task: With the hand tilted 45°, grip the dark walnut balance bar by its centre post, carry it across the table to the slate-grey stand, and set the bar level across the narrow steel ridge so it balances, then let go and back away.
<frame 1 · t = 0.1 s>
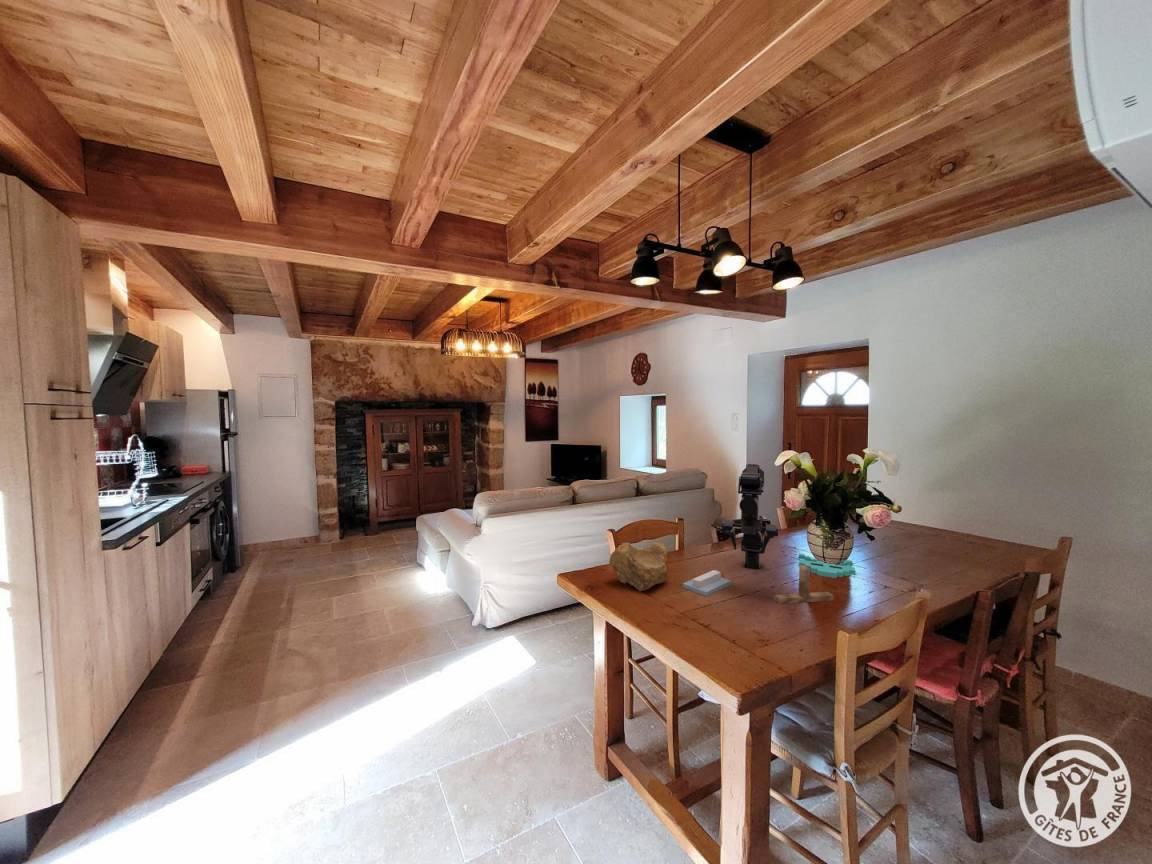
hand: (748, 551, 154), 15 cm above the table, tool pointing down, fingers open, 9 cm apart
walnut balance bar: (803, 600, 147), on the table
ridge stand: (706, 586, 159), on the table
rough brown rock: (642, 585, 160), on the table
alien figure: (825, 569, 177), on the table
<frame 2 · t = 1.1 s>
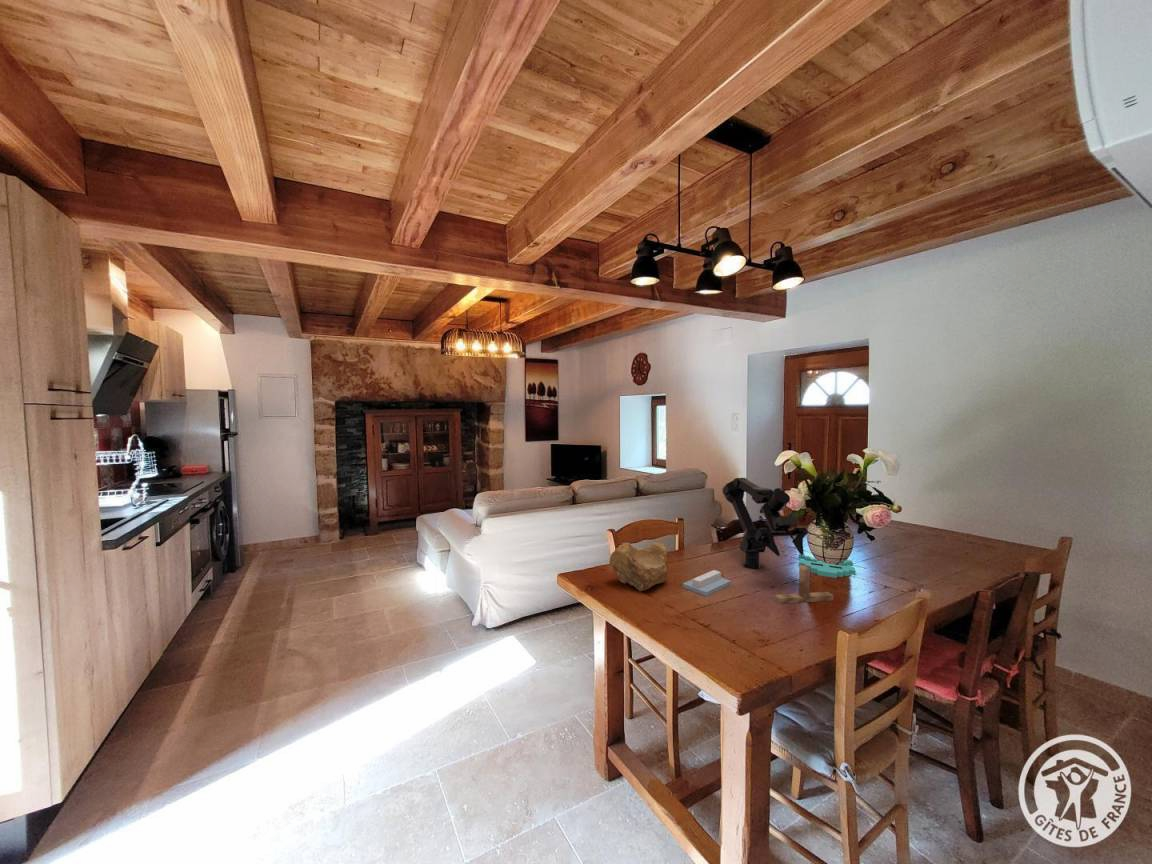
hand: (790, 555, 154), 13 cm above the table, tool tilted 45°, fingers open, 9 cm apart
nothing on the table moved.
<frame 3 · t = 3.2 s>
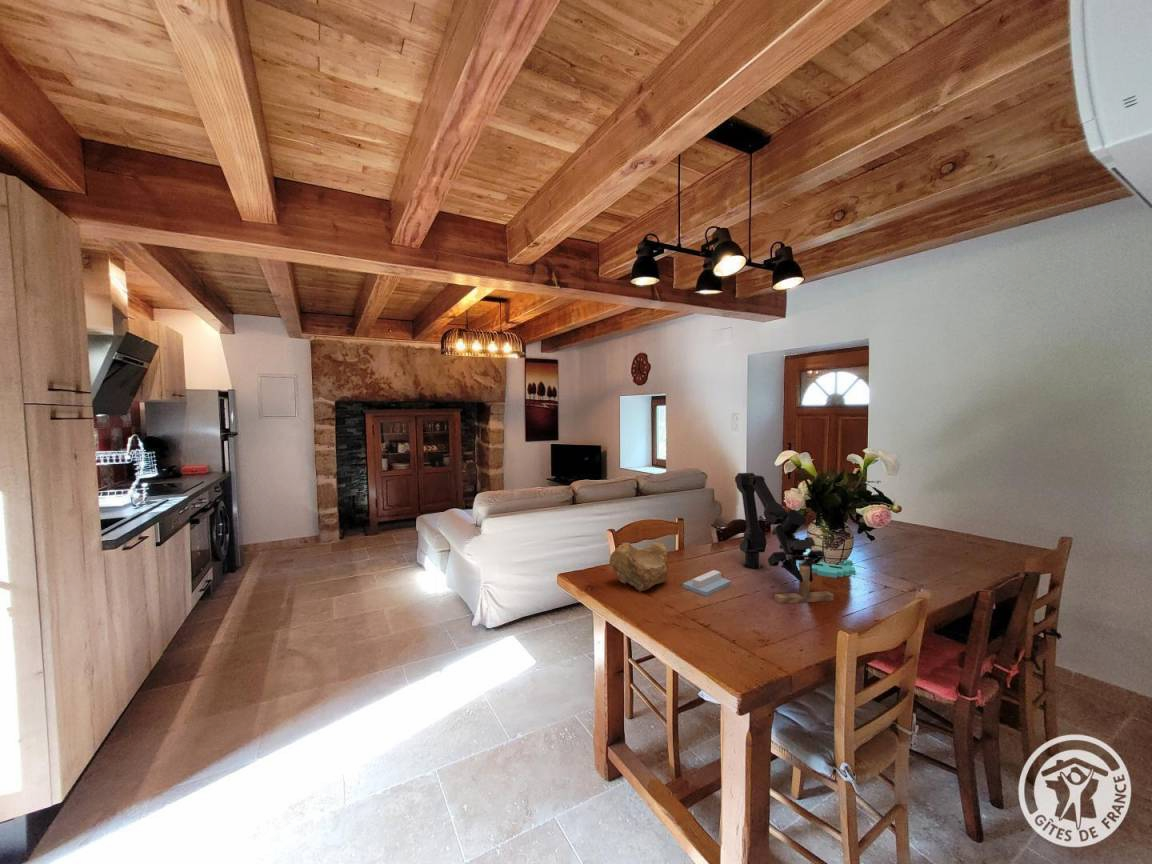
hand: (806, 581, 146), 7 cm above the table, tool tilted 45°, fingers closed on walnut balance bar, 3 cm apart
walnut balance bar: (803, 600, 147), on the table, touching gripper
everything else where it was.
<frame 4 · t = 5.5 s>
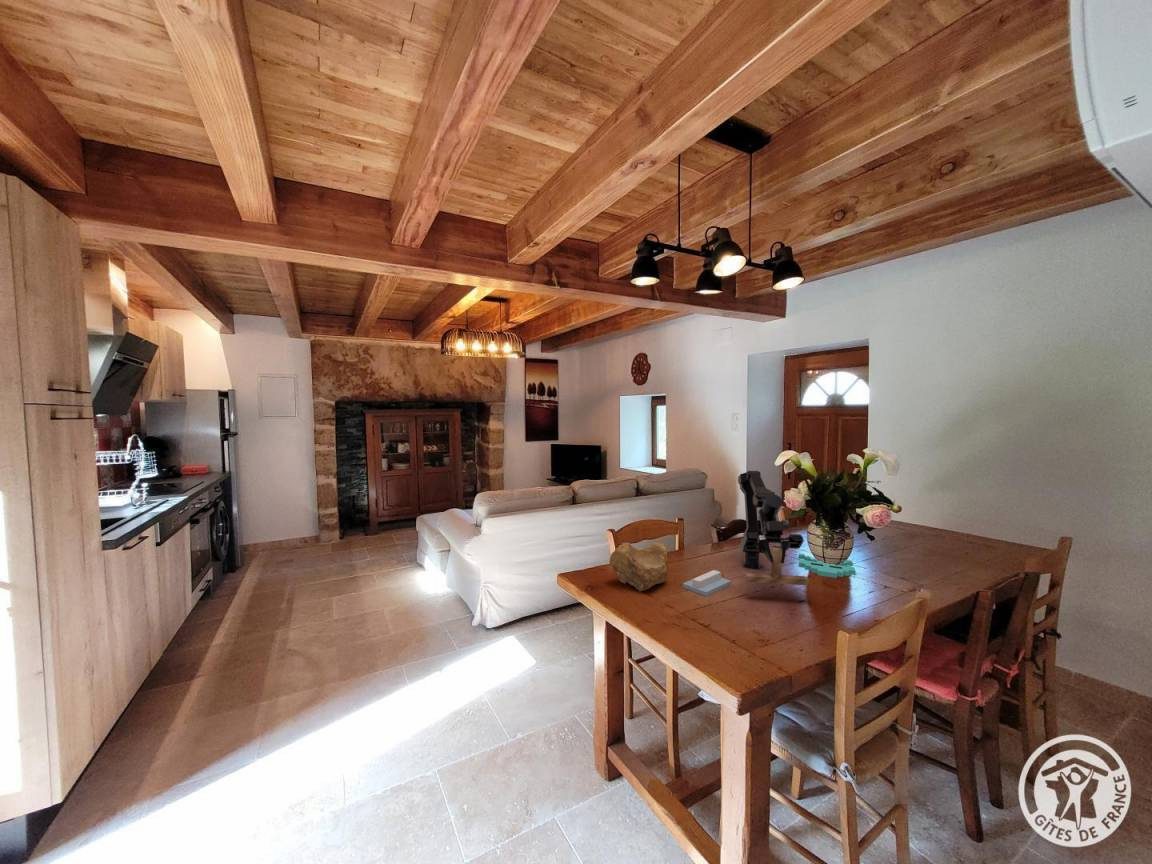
hand: (777, 562, 146), 13 cm above the table, tool tilted 45°, fingers closed on walnut balance bar, 3 cm apart
walnut balance bar: (776, 581, 147), point 6 cm above the table, touching gripper
everything else where it was.
when the fingers open (12 cm above the table, at t = 8.1 s): walnut balance bar stays where it is, resting on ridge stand.
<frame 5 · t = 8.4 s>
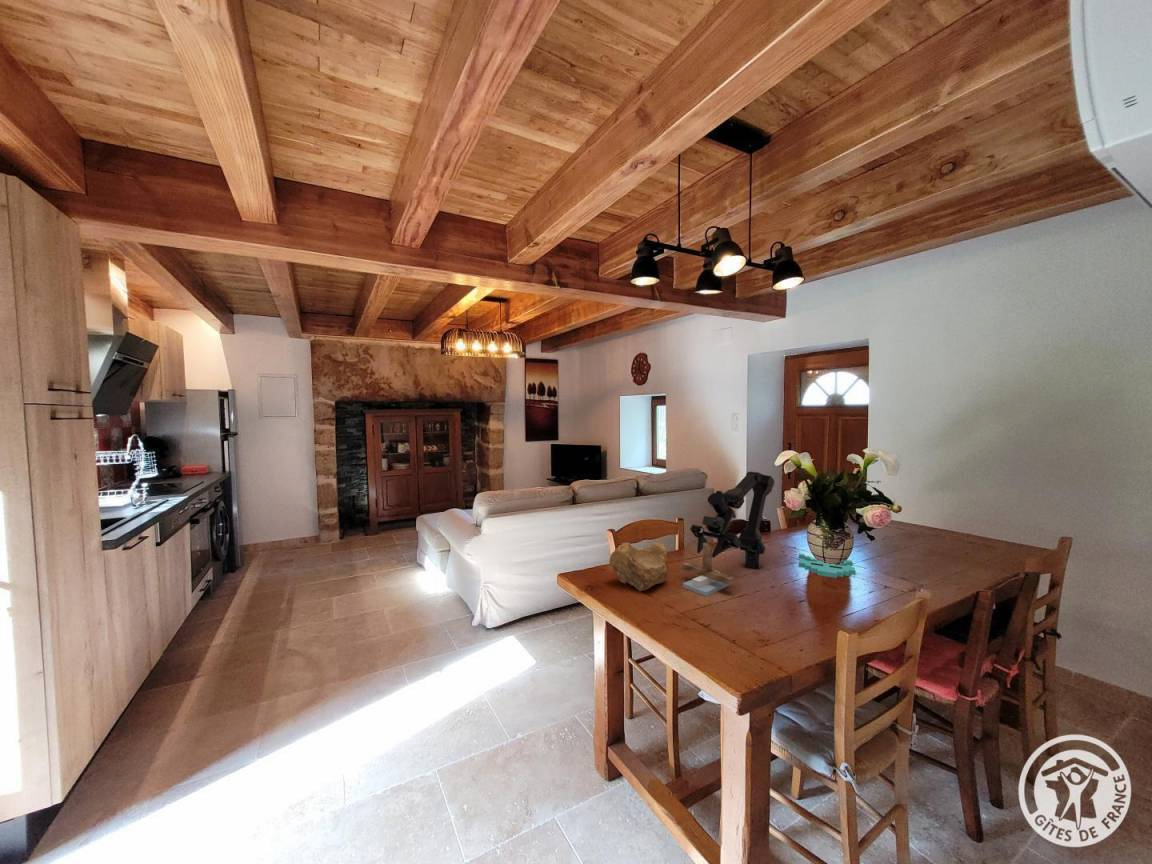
hand: (705, 554, 158), 12 cm above the table, tool tilted 45°, fingers open, 6 cm apart
walnut balance bar: (707, 575, 159), point 4 cm above the table, touching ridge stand
everything else where it was.
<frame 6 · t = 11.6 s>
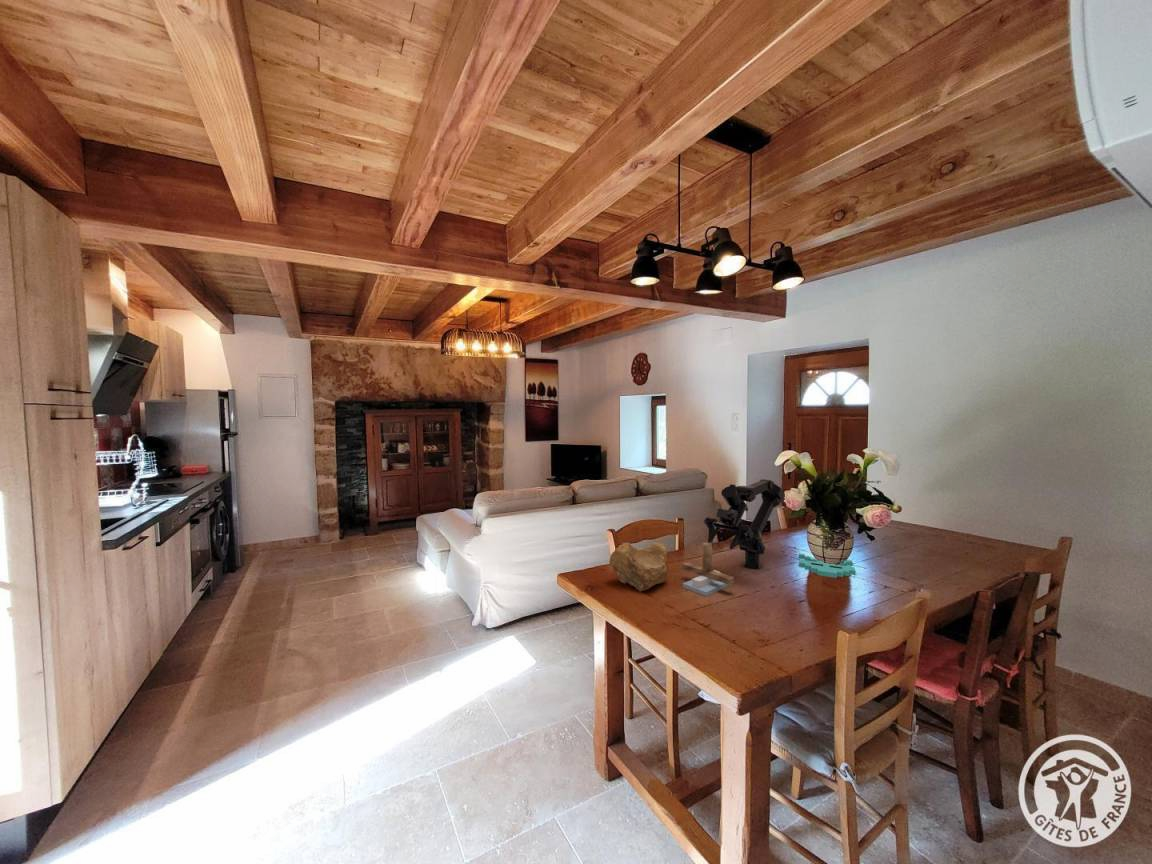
hand: (719, 545, 164), 14 cm above the table, tool tilted 45°, fingers open, 9 cm apart
nothing on the table moved.
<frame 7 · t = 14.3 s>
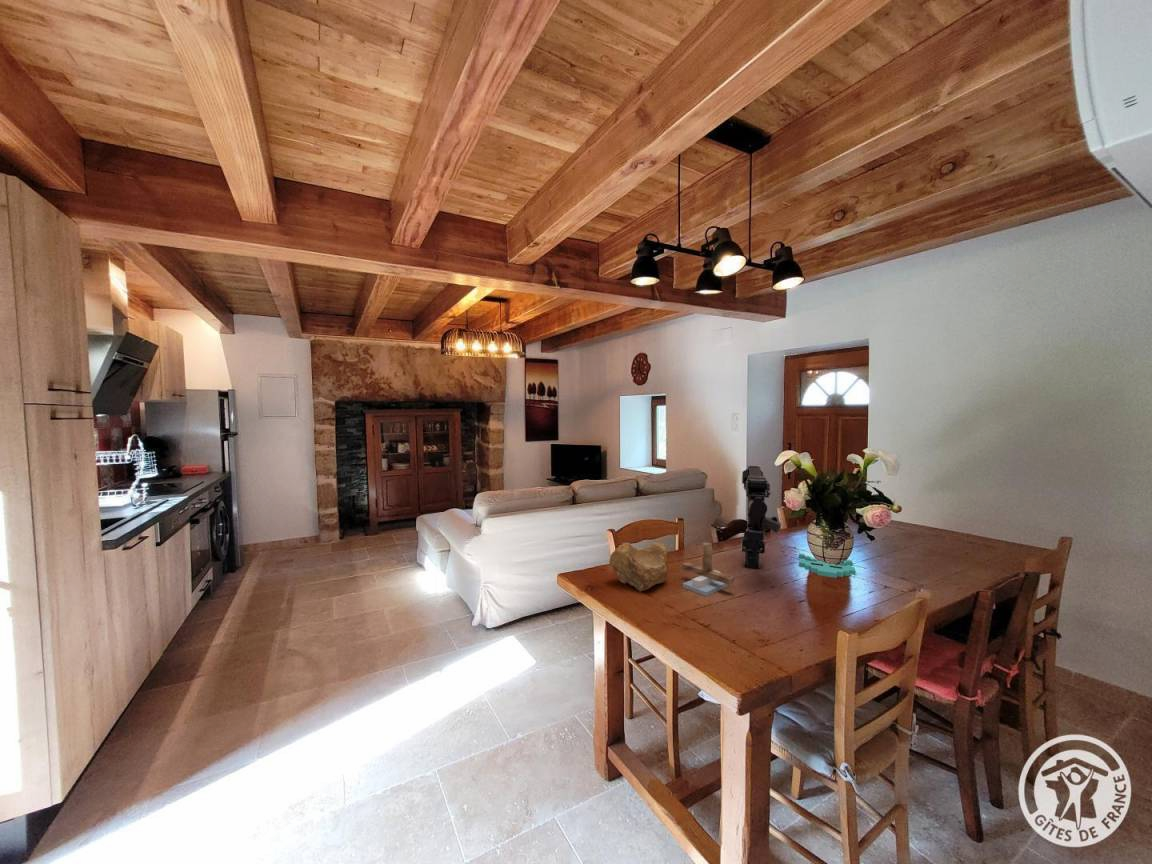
hand: (755, 550, 163), 12 cm above the table, tool pointing down, fingers open, 9 cm apart
nothing on the table moved.
at the end: walnut balance bar 0.0 cm off-centre on the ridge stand, point 4.0 cm above the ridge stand's base; walnut balance bar tilted 0°; walnut balance bar touching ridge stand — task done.
